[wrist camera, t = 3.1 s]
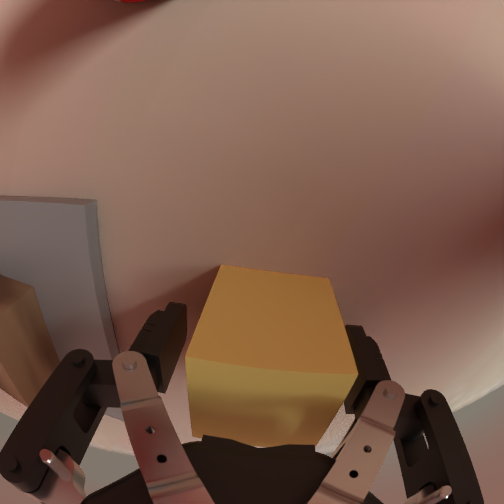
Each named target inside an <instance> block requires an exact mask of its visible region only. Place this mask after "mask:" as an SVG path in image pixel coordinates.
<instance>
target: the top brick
mask: <svg viewBox="0 0 504 504" xmlns="http://www.w3.org/2000/svg"><path fill="white" fill-rule="evenodd" d="M185 364H186V378H187V389H188V400H189V410H190V419H191V428H192V436H193V437H198V438H202V437H203V435H209V436H215V437H221V438H228V439H232V440H235V441H238V442H241V443H244V444H247V445H251V446H262V447H274V446H280V445H286V444H299V445H315V446H316V445H317V443H318V442H319V441H320V439H321V437H322V436H323V434H324V433H325V431H326V430H327V428H328V427H329V425H330V423H331V422H332V420H333V419H334V417H335V415H336V414H337V412H338V410H339V409H340V407H341V405H342V404H343V402H344V400H345V398H346V397H347V395H348V393H349V391H350V389H351V387H352V386H353V384H354V382H355V380H356V378H357V376H358V371H357V367H356V364H355V360H354V357H353V353H352V350H351V346H350V343H349V339H348V336H347V333H346V330H345V326H344V323H343V320H342V317H341V313H340V310H339V307H338V304H337V301H336V298H335V295H334V292H333V289H332V286H331V283H330V280H329V278H322V277H313V276H305V275H297V274H289V273H281V272H273V271H266V270H258V269H250V268H243V267H235V266H228V265H221V266H220V269H219V271H218V274H217V276H216V278H215V281H214V283H213V286H212V288H211V291H210V293H209V296H208V298H207V301H206V303H205V306H204V308H203V311H202V314H201V316H200V319H199V321H198V324H197V326H196V329H195V331H194V334H193V337H192V339H191V342H190V344H189V347H188V350H187V352H186V355H185Z"/></svg>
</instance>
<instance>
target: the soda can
mask: <svg viewBox="0 0 504 504" xmlns="http://www.w3.org/2000/svg"><path fill="white" fill-rule="evenodd" d="M114 1H118V2H126V3H129V2H140V1H146V0H114Z"/></svg>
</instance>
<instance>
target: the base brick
mask: <svg viewBox="0 0 504 504" xmlns="http://www.w3.org/2000/svg"><path fill="white" fill-rule="evenodd" d="M59 363H60V359H59V357H58V355H57V352H56V350H55V347H54V345H53V342H52V340H51V337H50V335H49V332H48V329H47V326H46V324H45V321H44V318H43V315H42V312H41V309H40V306H39V302H38V299H37V296H36V292H35V289H34V286H31V285H28V284H25V283H22V282H20V281H17V280H14V279H11V278H9V277H6V276H3V275H1V274H0V388H1V389H2V390H4V391H5V392H6V393H8V394H9V395H11V396H12V397H13V398H15V399H16V400H18V401H19V402H21V403H22V404H24V405H25V406H27V407H29V405H30V404H31V402H32V401H33V400H34V398H35V397H36V395H37V394H38V392H39V391H40V389H41V388H42V387H43V385H44V384H45V382H46V381H47V380H48V378H49V377H50V375H51V374H52V373H53V371H54V370H55V369H56V367H57V366H58V365H59Z"/></svg>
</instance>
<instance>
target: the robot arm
mask: <svg viewBox="0 0 504 504" xmlns="http://www.w3.org/2000/svg"><path fill="white" fill-rule="evenodd" d="M345 330H346V333H347V336H348V339H349V343H350V346H351V350H352V353H353V357H354V360H355V364H356V367H357V371H358V376H357V378H356V380H355V382H354V384H353V386H352V387H351V389H350V391H349V393H348V395H347V397H346V398H345V400H344V406H345V411H346V414H355V419H354V421H353V422H352V424H351V426H350V427H349V429H348V431H347V432H346V434H345V436H344V437H343V439H342V441H341V442H340V444H339V445H338V447H337V449H336V450H335V451H334V453H333V454H332V456H331V457H329V456H327V455H324V454H321V453H318V452H315V445H299V444H286V445H280V446H274V447H267V448H256V447H253V446H250V445H247V444H244V443H241V442H238V441H235V440H232V439H228V438H221V437H215V436H209V435H203V437H202V441H195V442H188V443H184V444H181V442H180V440H179V438H178V436H177V434H176V432H175V429H174V427H173V425H172V423H171V420H170V418H169V416H168V413H167V411H166V408H165V406H164V404H163V401H162V399H161V397H160V396H159V395H158V393H157V392H161V393H165V392H166V390H167V387H168V385H169V382H170V379H171V377H172V374H173V372H174V369H175V366H176V364H177V361H178V359H179V356H180V354H181V351H182V349H183V346H184V344H185V341H186V336H187V308H186V304H181V303H175V302H169V304H168V305H167V307H166V309H165V311H160V310H157V311H156V312H154V313H153V314H152V315H150V316H149V318H148V319H147V321H146V323H145V324H144V326H143V327H142V330H141V331H140V332H139V334H138V336H137V337H136V339H135V341H134V342H133V344H132V346H131V347H130V349H129V351H125V352H122V353H120V354H118V355H117V356H116V357H115V358H114V359H113V360H96V359H94V357H93V355H92V353H90V352H89V351H87V350H85V349H75V350H72V351H70V352H69V353H67V354H66V355H65V357H64V358H63V359H62V361H61V362H60V363H59V365H58V366H57V367H56V369H55V370H54V371H53V373H52V374H51V375H50V377H49V378H48V380H47V381H46V382H45V384H44V385H43V387H42V388H41V389H40V391H39V392H38V394H37V395H36V397H35V398H34V400H33V401H32V402H31V404H30V405H29V407H28V408H27V410H26V411H25V413H24V414H23V416H22V418H21V419H20V421H19V422H18V424H17V425H16V427H15V429H14V430H13V432H12V433H11V435H10V437H9V439H8V440H7V442H6V444H5V445H4V447H3V449H2V450H1V452H0V473H1V475H2V476H3V477H4V478H5V479H6V480H7V481H9V482H10V483H11V484H13V485H14V486H15V487H17V489H19V490H20V491H22V492H23V493H25V494H26V495H28V496H29V497H31V498H33V499H34V500H36V501H39V502H41V503H42V504H383V503H382V502H381V501H380V500H379V499H377V498H376V497H375V496H374V495H373V494H372V493H371V492H369V490H370V488H371V486H372V484H373V482H374V480H375V478H376V476H377V474H378V472H379V470H380V468H381V466H382V464H383V462H384V459H385V457H386V455H387V453H388V451H389V448H390V446H391V444H392V441H393V440H394V443H395V447H396V451H397V455H398V459H399V463H400V467H401V472H402V477H403V481H404V486H405V491H406V495H407V500H406V501H405V503H404V504H484V500H483V497H482V493H481V490H480V487H479V483H478V480H477V477H476V474H475V471H474V468H473V465H472V462H471V459H470V456H469V454H468V451H467V449H466V446H465V443H464V441H463V438H462V436H461V433H460V431H459V428H458V426H457V423H456V421H455V419H454V417H453V414H452V412H451V410H450V407H449V405H448V403H447V401H446V399H445V397H444V396H443V395H442V394H441V393H440V392H438V391H436V390H432V389H429V390H426V391H424V392H423V394H422V395H421V396H415V395H410V394H406V393H405V392H404V389H403V388H402V387H401V385H399V384H398V383H396V382H394V381H391V378H390V375H389V373H388V370H387V368H386V365H385V362H384V360H383V359H382V358H383V357H382V355H381V353H380V350H379V347H378V345H377V343H376V342H375V341H374V340H373V339H372V338H371V337H368V336H366V334H365V332H364V329H363V327H362V326H357V325H346V326H345ZM108 407H112V408H121V411H122V415H123V418H124V422H125V425H126V429H127V432H128V435H129V439H130V442H131V445H132V448H133V451H134V454H135V456H136V459H137V462H138V465H139V467H140V468H139V469H137V470H135V471H134V472H132V473H130V474H128V475H126V476H125V477H123V478H121V479H119V480H117V481H115V482H113V483H112V484H110V485H108V486H105V487H104V488H102V489H99V490H97V491H95V492H93V493H91V494H90V495H88V496H86V494H85V491H84V484H85V474H84V472H83V470H82V468H80V466H79V465H80V463H81V461H82V459H83V457H84V454H85V452H86V450H87V448H88V446H89V444H90V442H91V440H92V438H93V436H94V434H95V431H96V429H97V427H98V425H99V423H100V421H101V419H102V417H103V415H104V413H105V411H106V409H107V408H108ZM423 433H425V436H426V439H427V442H428V446H429V449H428V448H427V445H426V442H425V439H424V436H423Z"/></svg>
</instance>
